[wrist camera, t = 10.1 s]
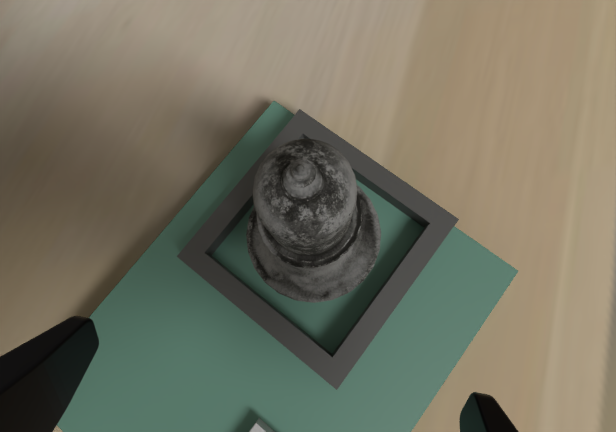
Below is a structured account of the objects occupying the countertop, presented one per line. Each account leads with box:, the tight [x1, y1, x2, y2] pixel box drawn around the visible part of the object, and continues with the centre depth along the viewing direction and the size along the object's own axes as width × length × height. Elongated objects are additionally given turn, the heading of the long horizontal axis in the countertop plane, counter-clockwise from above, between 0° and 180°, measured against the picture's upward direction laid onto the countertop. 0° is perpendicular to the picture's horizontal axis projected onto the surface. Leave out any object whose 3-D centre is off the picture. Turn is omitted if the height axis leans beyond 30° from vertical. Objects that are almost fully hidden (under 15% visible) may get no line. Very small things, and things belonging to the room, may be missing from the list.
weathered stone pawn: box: [246, 139, 381, 303], centre depth 14 cm, size 6×6×12 cm
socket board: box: [57, 101, 518, 432], centre depth 19 cm, size 20×16×3 cm
